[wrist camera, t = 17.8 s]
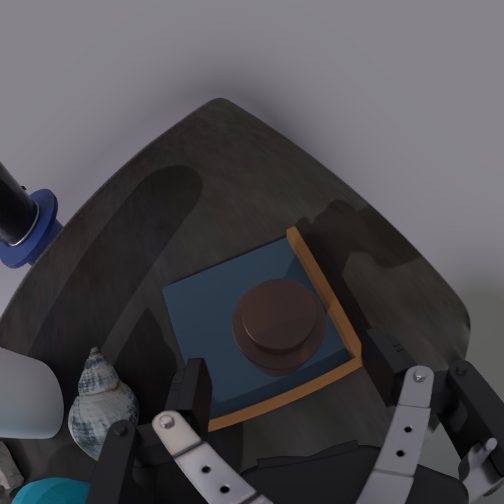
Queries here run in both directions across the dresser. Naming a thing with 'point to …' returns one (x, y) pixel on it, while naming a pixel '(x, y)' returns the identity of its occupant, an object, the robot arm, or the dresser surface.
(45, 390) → the tall pillar cylinder
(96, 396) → the seashell
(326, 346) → the corner mat
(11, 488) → the stone
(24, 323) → the dresser surface
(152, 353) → the dresser surface
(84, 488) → the decorative orb
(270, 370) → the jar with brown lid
